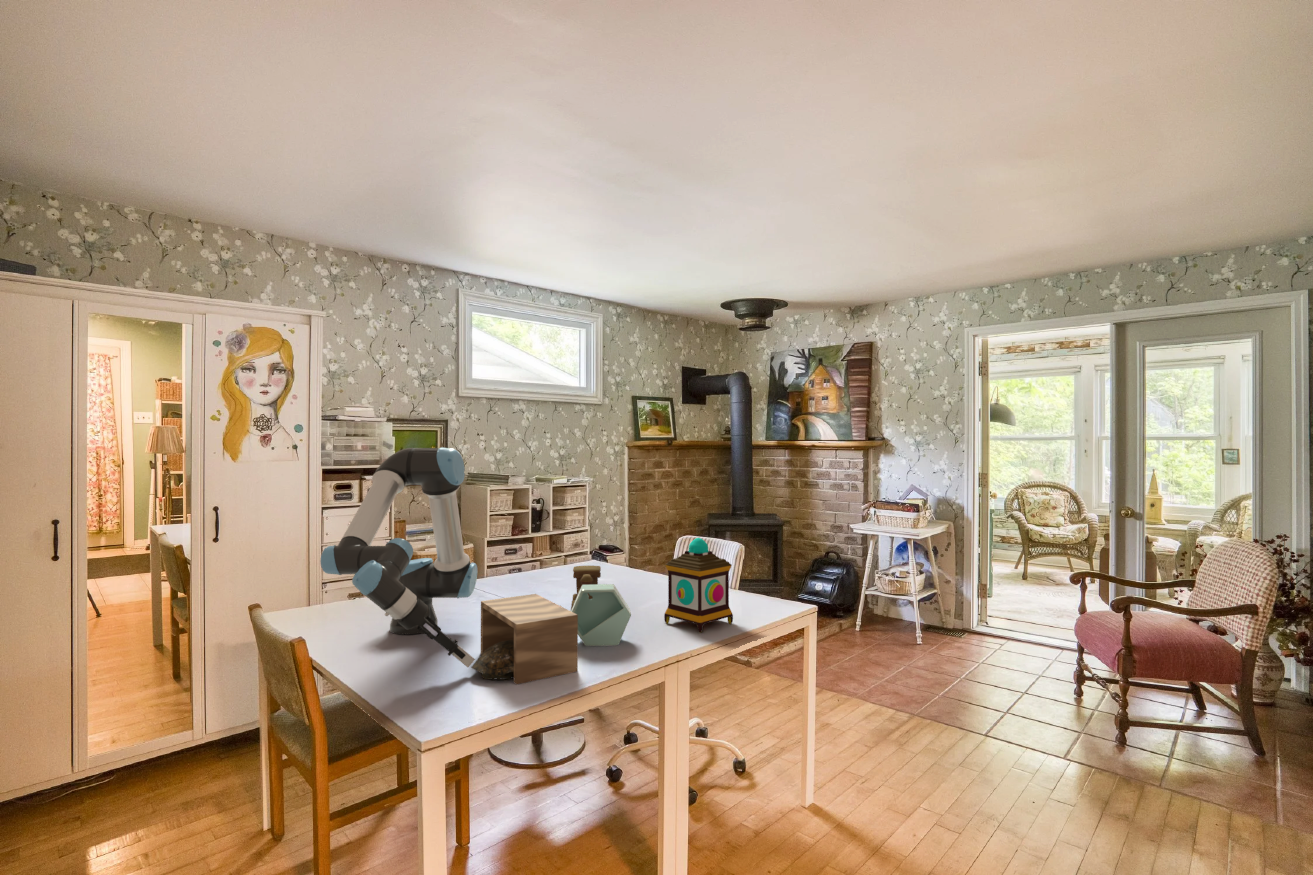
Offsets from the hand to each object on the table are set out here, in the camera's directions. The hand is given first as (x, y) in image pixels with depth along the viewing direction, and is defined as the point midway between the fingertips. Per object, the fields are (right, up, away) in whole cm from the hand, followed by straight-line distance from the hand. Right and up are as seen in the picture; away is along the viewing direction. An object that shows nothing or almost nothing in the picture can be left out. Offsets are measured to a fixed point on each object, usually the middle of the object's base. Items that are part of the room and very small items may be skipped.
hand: (470, 662), depth 170 cm
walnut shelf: (+13, -3, +9) cm, 16 cm away
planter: (+32, -4, +28) cm, 43 cm away
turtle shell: (+8, -3, +3) cm, 10 cm away
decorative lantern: (+65, -4, +50) cm, 82 cm away
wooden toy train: (+25, -5, +60) cm, 65 cm away
